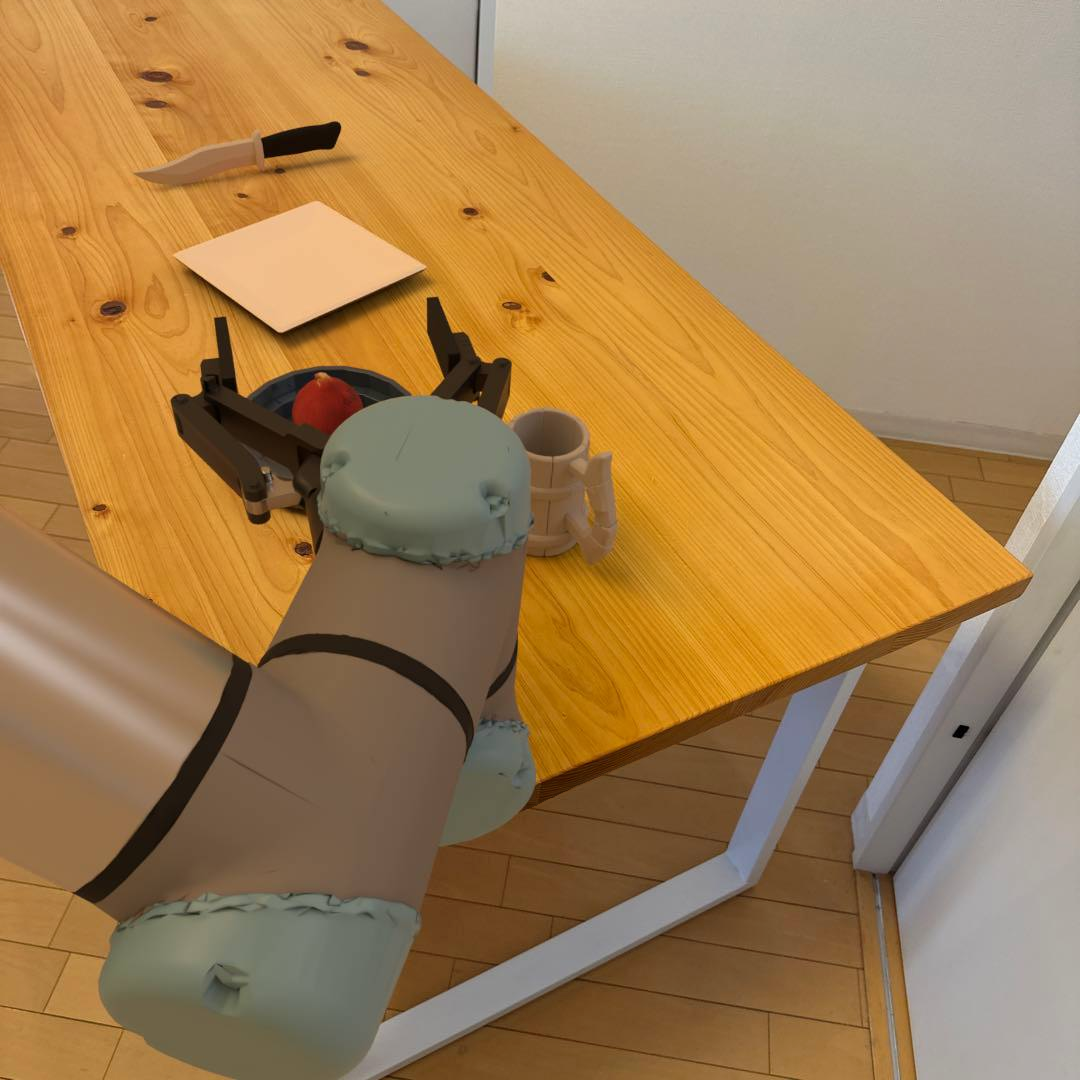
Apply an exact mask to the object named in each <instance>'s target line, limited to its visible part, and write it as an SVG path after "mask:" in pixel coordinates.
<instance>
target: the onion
mask: <svg viewBox="0 0 1080 1080" xmlns="http://www.w3.org/2000/svg"><path fill="white" fill-rule="evenodd" d="M362 409H363V405H362V401H361V399H360V397H359V395H358V394H357V392H356V391H355V390H354V389H353V388H352V387H351V386H349V385H348V384H347V383H346V382H344V381H343V380H341V379H338V378H334V377H331V376H328V375H327V374H326V373H322V372H320V373H317V374H315V379H314V380H312V381H310V382H309V383H308V384H306V385H305V386H304V387H303V388H302V389H301V390H300V391H299V392H298V394H297V396H296V399H295V402H294V405H293V408H292V418H293V421H294V424H296V425H300V424H301V423H307V424H309V425H311V426H312V427H314V428H316V429H318V430H320V431H322V432H324V433H326V434H328V435H331V434H333V431H332V430H336V429H337V428H338V427H339V426H340V425H341V424H342V423H343V422H344V421H345V420H347V419H348V418H349V417H351V416H352V415H353V414H355V413H357V412H358V411H360V410H362Z"/></svg>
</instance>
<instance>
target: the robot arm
mask: <svg viewBox="0 0 1080 1080" xmlns="http://www.w3.org/2000/svg"><path fill="white" fill-rule="evenodd" d="M213 322H214V330H215V338H216V339H215V340H216V346H217V354H218V357H213V358H203V359H202V360H201V362H200V363H199V366H200V374H201V375H200V378H199V382H200V386H201V391H200V392H199V393H198V394H195V395H193V396H191V395H190V394H188V393H177V394H175V395H173V396H172V397H171V398H170V400H169V401H170V406H171V410H172V415H173V418H174V422H175V427H176V432H177V435H178V436H179V438H180V439H181V440H182V441H183V442H184V443H185V444H186V445H187V446H188V447H189V448H190V449H191V450H192V451H193V452H194V453H195V454H196V455H197V456H198V457H199V458H200V459H201V460H202V461H203V462H204V463H205V464H206V465H207V466H208V467H209V468H210V469H211V470H212V471H213V472H214V473H215V474H216V475H217V476H218V477H219V478H220V479H221V480H222V481H223V482H224V483H225V484H226V485H227V486H228V487H229V488H230V489H231V490H232V491H233V492H234V493H235V494H236V495H237V496H238V497H239V498H240V499H241V500H242V503H243V506H244V510H245V512H246V516H247V519H248V522H249V523H251V524H253V525H256V526H257V525H264V524H266V523H268V522H269V521H270V520H271V518H272V514H271V511H273V510H277V509H283V508H287V507H289V506H292V505H296V504H297V505H298V506H299V507H300V508H302V509H301V510H302V511H303V512H305V514H306V516H307V521H308V526H309V532H310V536H311V537H310V538H311V541H312V547H313V553H314V559H313V560H312V562H311V564H310V566H309V568H308V570H307V572H306V574H305V575H304V577H303V579H302V581H301V583H300V585H299V587H298V589H297V591H296V593H295V595H294V597H293V599H292V601H291V602H290V605H289V607H288V608H287V611H286V612H285V614H284V616H283V618H282V619H281V622H280V624H279V626H278V628H277V630H276V631H275V634H274V635H273V638H272V639H271V641H270V643H269V645H268V647H267V649H266V651H265V653H264V654H263V656H262V657H261V658H260V660H259V661H258V664H257V666H256V665H255V664H253V663H252V662H250V661H248V662H247V661H246V660H245V659H243V658H241V657H240V656H238V655H237V654H235V653H233V652H232V651H231V650H229V649H227V648H226V647H224V646H223V645H221V644H219V643H217V642H216V641H215V640H213V639H212V638H210V637H208V636H207V635H205V634H203V632H200V631H199V630H198V629H196V628H194V627H193V626H192V625H190V624H188V623H187V622H185V621H183V620H182V619H181V618H179V617H177V616H175V615H174V614H173V613H171V612H169V611H168V610H166V609H164V608H163V607H161V606H160V605H158V604H157V603H155V602H153V601H152V600H151V599H149V598H148V597H146V596H145V595H143V594H142V593H140V592H138V591H137V590H135V589H134V588H132V587H131V586H128V584H125V583H124V582H123V581H121V580H119V579H118V578H116V577H115V576H113V575H112V574H111V573H109V572H107V571H105V569H104V570H103V569H102V568H101V567H99V566H98V565H96V564H95V563H93V562H92V561H90V560H88V559H87V558H85V557H83V556H82V555H80V554H79V553H77V552H76V551H75V550H73V549H71V548H70V547H68V546H66V545H65V544H63V543H62V542H60V541H59V540H57V539H55V538H54V537H53V536H51V535H50V534H48V533H46V532H45V531H43V530H41V529H40V528H38V527H36V526H35V525H33V523H31V522H29V521H28V520H26V519H24V518H23V517H21V516H19V514H16V513H15V512H13V511H12V510H11V509H9V508H7V507H6V506H4V505H2V504H1V503H0V858H1V859H3V860H5V861H7V862H8V863H9V862H10V863H12V864H13V865H15V866H16V867H19V868H21V869H23V870H25V871H27V872H29V873H31V874H33V875H35V876H37V877H39V878H41V879H43V880H45V881H47V882H49V883H51V884H54V885H55V886H57V887H60V889H63V890H65V891H67V892H69V893H71V894H73V895H75V896H77V897H79V898H81V899H83V900H85V901H87V902H89V903H90V904H92V905H93V906H94V907H96V908H97V909H99V910H100V911H101V912H103V913H105V914H106V915H108V916H109V917H111V918H112V919H113V920H115V921H116V922H117V923H116V926H115V928H114V930H113V931H112V933H111V935H110V937H109V939H108V940H109V941H108V942H109V951H108V954H107V956H106V958H105V961H104V963H103V965H102V966H101V969H100V973H99V977H98V981H97V982H98V988H97V989H98V991H97V992H98V995H99V1000H100V1001H101V1004H102V1006H103V1008H104V1009H105V1011H106V1012H107V1014H108V1015H109V1016H110V1018H111V1019H112V1020H113V1021H114V1022H115V1023H116V1024H117V1025H119V1026H120V1027H121V1028H123V1029H124V1030H126V1031H127V1032H130V1033H133V1034H136V1035H138V1036H140V1037H141V1038H143V1040H144V1041H145V1042H144V1043H146V1045H148V1046H149V1047H151V1048H153V1049H154V1050H155V1051H158V1052H160V1053H162V1054H164V1055H165V1056H168V1057H170V1058H172V1059H175V1060H177V1061H179V1062H181V1063H184V1064H187V1065H189V1066H191V1067H195V1068H197V1069H200V1070H202V1071H205V1072H208V1073H211V1074H215V1075H218V1076H222V1077H225V1078H229V1079H233V1080H340V1079H341V1078H343V1077H345V1076H347V1075H349V1074H350V1073H351V1072H352V1071H353V1070H355V1069H356V1068H357V1067H358V1066H359V1065H360V1064H361V1063H362V1062H363V1061H364V1059H365V1058H366V1056H367V1055H368V1053H369V1052H370V1050H371V1048H372V1046H373V1044H374V1041H375V1039H376V1037H377V1035H378V1031H379V1029H380V1027H381V1024H382V1022H383V1019H384V1016H385V1014H386V1012H387V1009H388V1006H389V1004H390V1001H391V999H392V996H393V994H394V991H395V989H396V986H397V984H398V982H399V979H400V976H401V973H402V971H403V969H404V966H405V964H406V962H407V959H408V956H409V953H410V951H411V949H412V946H413V943H414V941H415V938H416V937H418V935H419V932H420V930H421V928H422V915H421V914H420V913H421V909H422V906H423V902H424V899H425V896H426V892H427V889H428V885H429V882H430V878H431V876H432V875H431V874H432V871H433V868H434V865H435V862H436V857H437V854H438V850H439V848H442V847H447V846H452V845H455V844H460V843H465V842H469V841H473V840H475V839H478V838H480V837H483V836H484V835H487V834H489V833H491V832H493V831H496V830H497V829H499V828H500V827H502V826H503V825H505V824H507V823H508V822H509V821H511V820H512V819H513V818H514V817H515V816H516V815H518V813H519V812H521V811H522V810H523V808H524V807H526V805H527V804H528V802H529V801H530V799H531V797H532V795H533V793H534V790H535V787H536V783H537V770H536V765H535V761H534V757H533V753H532V749H531V745H530V741H529V738H530V735H531V731H530V728H529V726H528V725H529V724H525V722H524V721H523V718H522V716H521V715H522V714H521V713H520V711H519V706H518V702H517V696H516V690H515V689H516V677H517V667H518V656H519V655H518V654H519V622H520V614H521V613H520V612H521V606H522V605H521V604H522V596H523V587H524V579H525V570H526V563H527V562H526V561H527V554H526V553H527V544H528V536H529V530H532V527H533V524H534V514H533V513H532V511H531V504H530V488H531V467H530V462H529V458H528V454H527V452H526V450H525V447H524V445H523V444H522V442H521V440H520V438H519V437H518V436H517V434H516V433H515V432H514V431H513V430H512V429H511V428H510V427H509V426H508V423H506V421H504V420H503V417H504V416H505V415H504V414H505V411H506V409H507V405H508V403H509V399H510V396H511V386H512V385H511V383H512V367H513V363H512V361H511V360H510V359H509V358H506V357H497V358H495V359H493V360H492V362H487V361H483V360H482V358H481V357H480V356H478V355H477V353H476V351H475V348H474V346H473V344H472V341H471V339H470V336H469V335H468V334H467V333H466V332H464V331H457V332H453V331H452V329H451V328H452V327H451V325H450V323H449V320H448V318H447V316H446V313H445V311H444V308H443V306H442V303H441V300H440V298H439V296H429V297H426V333H427V336H428V339H429V341H430V344H431V347H432V350H433V352H434V355H435V357H436V360H437V363H438V366H439V369H440V371H441V374H442V376H443V379H442V381H441V382H440V383H439V384H438V385H437V386H436V387H435V389H434V390H433V391H431V393H430V394H422V395H421V394H419V395H412V396H405V397H397V398H392V399H388V400H385V401H381V402H378V403H376V404H373V405H370V406H368V407H366V408H364V409H362V410H360V411H358V412H357V413H355V414H353V415H352V416H351V417H349V418H348V419H347V420H345V421H344V422H343V423H342V424H341V425H340V426H339V427H338V428H337V429H336V430H332V431H333V434H331V435H328V434H326V433H324V432H322V431H320V430H318V429H316V428H314V427H312V426H311V425H309V424H307V423H301V424H300V425H296V424H294V423H293V422H291V421H289V420H287V419H285V418H283V417H281V416H279V415H277V414H276V413H274V412H272V411H270V410H268V409H266V408H264V407H262V406H260V405H258V404H257V403H255V402H253V401H251V400H249V399H247V397H245V396H244V395H241V394H240V393H239V390H238V382H237V375H236V367H235V361H234V355H233V348H232V343H231V336H230V331H229V326H228V325H229V324H228V320H227V316H217V317H216V316H215V317H213ZM476 402H477V404H474V403H476ZM238 441H239V442H238ZM240 442H241V443H242V444H244V445H246V446H248V447H250V448H252V449H253V450H255V451H257V452H259V453H261V454H262V455H264V456H266V457H268V458H270V459H272V460H273V461H275V462H277V463H279V464H281V465H282V466H284V467H286V468H288V469H289V470H290V472H291V473H292V475H293V479H292V481H284V480H281V479H279V478H278V477H277V476H276V475H275V474H274V473H271V469H270V468H269V467H267V466H265V467H262V468H260V466H259V463H258V462H257V460H256V459H255V457H254V456H253V455H252V454H251V453H250V452H249V451H248V450H247V449H246V448H245V447H244V446H243V445H242V444H241V443H240Z"/></svg>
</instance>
